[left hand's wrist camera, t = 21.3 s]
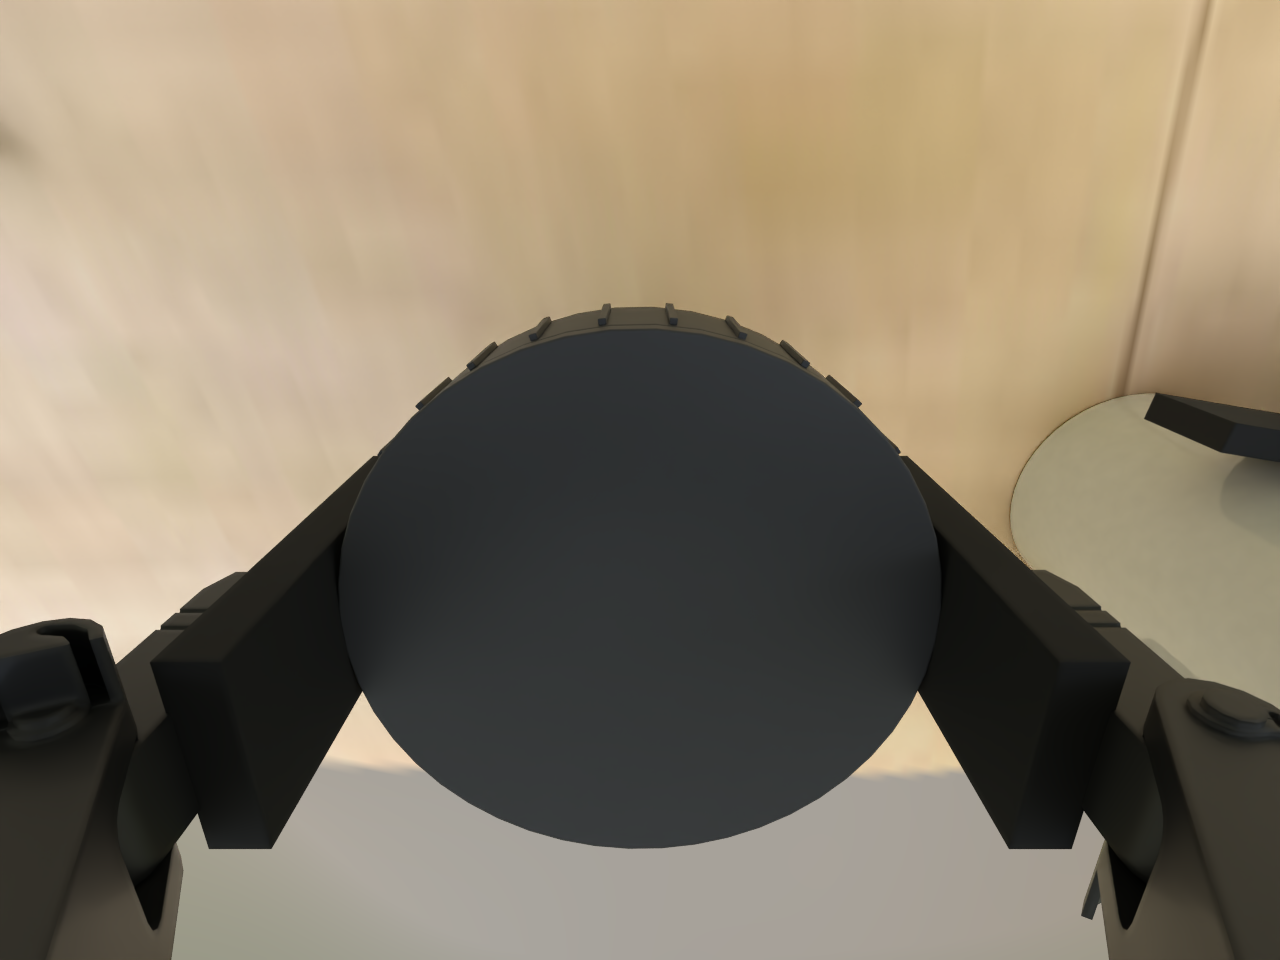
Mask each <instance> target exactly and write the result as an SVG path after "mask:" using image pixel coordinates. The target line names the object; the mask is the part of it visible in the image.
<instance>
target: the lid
mask: <svg viewBox="0 0 1280 960" xmlns="http://www.w3.org/2000/svg"><path fill="white" fill-rule="evenodd" d="M809 364H810V363H809V362H808V361H807V360H806V359H805V358H804V357H803V356H802V355H801V354H799V353H798V352H797V351H796V350H795V349H794V348H793V347H792V346H791V345H789V344H788V343H787V342H785V341H784V340H782V341H781V343H780V345H779V344H778V343H776V342H774V341H772V340H771V339H769V338H767V337H766V336H764V335H762V334H760V333H757V332H755V331H752V330H750V329H747V328H745V327H742V326H740V325H739V324H738V323H737V321H736V320H735V319H734V318H733V317H730V316H727V317H726V319H725V320H723V319H720V318H716V317H712V316H708V315H704V314H700V313H696V312H692V311H684V310H676V309H674V306H673V304H669V303H666V307H665V308H658V307H626V308H611V304H604V305H603V307H602V310H597V311H591V312H584V313H578V314H575V315H571V316H568V317H564V318H561V319H558V320H554V321H551V319H550V317H546V318H544V319H543V320H542V321H541V322H540V323H539V324H538V325H537V326H536V327H535V328H532V329H530V330H528V331H526V332H524V333H521V334H519V335H517V336H515V337H513V338H510V339H508V340H507V341H505V342H503V343H502V344H500V345H499V346H497V344H496V343H495V342H493V343H491V344H490V345H489V346H487V347H486V348H485V349H484V350H483V351H482V352H481V353H480V354H478V355H477V356H476V357H475V358H474V359H473V360H472V361H471V362H469V363H468V364H467V367H468V368H466V369H465V370H464V371H463V372H462V373H461V374H459V375H458V376H457V377H456V378H455V379H454V380H451V379H450V378H449V377H448V378H447V379H445V380H444V381H443V382H442V383H441V384H440V385H438V386H437V387H436V388H435V389H434V390H433V391H432V392H430V393H429V394H428V395H427V396H426V397H425V398H423V399H422V400H421V401H420V402H419V403H418V404H417V405H416V406H415V407H416V408H417V409H418V410H419V411H418V412H417V413H416V414H415V415H414V416H413V417H412V418H411V419H410V420H409V421H408V422H407V423H406V424H405V426H404V427H403V428H402V429H401V430H400V431H399V433H398V434H397V435H396V436H395V437H394V438H393V439H392V440H391V441H390V442H389V443H388V444H387V445H386V446H384V447H383V448H382V449H381V450H380V452H379V453H378V456H379V459H378V460H377V462H376V463H375V465H374V466H373V468H372V470H371V471H370V473H369V474H368V476H367V478H366V479H365V481H364V483H363V486H362V488H361V490H360V493H359V495H358V497H357V499H356V502H355V504H354V506H353V509H352V511H351V513H350V517H349V521H348V524H347V528H346V532H345V536H344V540H343V544H342V548H341V556H340V566H339V577H338V596H339V610H340V617H341V622H342V627H343V633H344V638H345V643H346V648H347V653H348V656H349V659H350V662H351V665H352V667H353V670H354V673H355V675H356V678H357V681H358V683H359V685H360V687H361V689H362V691H363V693H364V695H365V696H366V698H367V700H368V702H369V704H370V706H371V708H372V709H373V711H374V713H375V714H376V716H377V717H378V718H379V720H380V721H381V723H382V724H383V725H384V727H385V728H386V730H387V731H388V732H389V734H390V735H391V736H392V738H393V739H394V740H395V741H396V742H397V743H398V745H399V746H400V747H401V748H402V749H403V750H404V751H405V752H406V753H407V754H408V755H409V756H410V757H411V759H412V760H413V761H414V762H415V763H416V764H417V765H419V766H420V767H421V768H422V769H423V770H424V771H426V772H427V773H428V774H429V775H430V776H432V777H433V778H434V779H435V780H436V781H437V782H439V783H440V784H441V785H443V786H444V787H446V788H447V789H449V790H450V791H451V792H453V793H455V794H456V795H457V796H459V797H461V798H462V799H464V800H465V801H466V802H468V803H470V804H472V805H474V806H475V807H477V808H479V809H481V810H483V811H485V812H487V813H489V814H491V815H493V816H495V817H497V818H499V819H501V820H504V821H506V822H509V823H511V824H514V825H516V826H519V827H521V828H524V829H526V830H529V831H532V832H536V833H539V834H543V835H546V836H550V837H553V838H557V839H560V840H565V841H570V842H576V843H582V844H587V845H593V846H602V847H615V848H627V849H636V848H668V847H676V846H686V845H695V844H699V843H704V842H709V841H714V840H719V839H724V838H728V837H731V836H735V835H738V834H741V833H744V832H747V831H750V830H754V829H757V828H760V827H762V826H765V825H767V824H769V823H771V822H774V821H776V820H778V819H781V818H783V817H785V816H788V815H790V814H792V813H794V812H795V811H797V810H799V809H801V808H803V807H804V806H806V805H808V804H810V803H812V802H813V801H815V800H817V799H819V798H820V797H822V796H823V795H824V794H826V793H827V792H829V791H830V790H831V789H833V788H834V787H836V786H837V785H838V784H840V783H841V782H843V781H844V780H845V779H847V778H848V777H849V776H850V775H851V774H852V773H853V772H854V771H856V770H857V769H858V768H859V767H860V766H861V765H862V764H863V763H864V762H866V761H867V760H868V759H869V758H870V757H871V756H872V755H873V754H874V753H875V751H876V750H877V749H878V748H879V747H880V746H881V744H882V743H883V742H884V741H885V740H886V739H887V738H888V736H889V735H890V734H891V733H892V732H893V730H894V729H895V727H896V726H897V724H898V723H899V721H900V720H901V718H902V717H903V715H904V714H905V712H906V711H907V709H908V708H909V706H910V705H911V703H912V701H913V699H914V697H915V695H916V693H917V691H918V689H919V687H920V684H921V682H922V680H923V678H924V676H925V674H926V671H927V668H928V665H929V662H930V659H931V656H932V652H933V649H934V646H935V641H936V635H937V630H938V624H939V619H940V614H941V592H942V572H941V565H940V558H939V551H938V544H937V538H936V535H935V531H934V528H933V525H932V522H931V518H930V515H929V512H928V509H927V505H926V503H925V501H924V499H923V497H922V495H921V493H920V491H919V489H918V487H917V484H916V482H915V480H914V478H913V476H912V474H911V472H910V470H909V469H908V467H907V466H906V464H905V463H904V462H903V460H902V459H901V457H900V456H899V453H901V452H900V450H899V449H898V447H897V446H896V445H895V444H894V443H893V442H891V441H890V440H889V439H888V438H887V437H886V436H885V435H884V434H883V433H882V432H881V431H880V430H879V429H878V428H877V427H876V426H875V425H874V424H873V423H872V422H871V421H870V420H869V419H868V418H867V416H866V415H865V414H864V413H863V412H862V411H861V410H860V409H859V408H858V407H859V406H860V405H861V404H862V403H861V402H860V401H859V400H858V399H857V398H856V397H854V396H853V395H852V394H851V393H850V392H849V391H848V390H846V389H845V388H844V387H843V386H842V385H841V384H839V383H838V382H837V381H836V380H835V379H834V378H833V377H831V376H830V375H828V376H827V377H826V378H825V377H824V376H822V375H821V374H820V373H819V372H818V371H816V370H815V369H814V368H812V367H811V366H810V365H809Z"/></svg>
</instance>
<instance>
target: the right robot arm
mask: <svg viewBox="0 0 1280 960" xmlns="http://www.w3.org/2000/svg"><path fill="white" fill-rule="evenodd" d="M1144 419H1145V420H1147V421H1150V422H1152V423H1154V424H1156V425H1159V426H1161V427H1163V428H1166V429H1168V430H1170V431H1172V432H1175V433H1177V434H1179V435H1182V436H1184V437H1186V438H1188V439H1191V440H1193V441H1195V442H1197V443H1200V444H1202V445H1204V446H1207V447H1209V448H1211V449H1213V450H1216V451H1218V452H1220V453H1226V454H1232V455H1238V456H1244V457H1250V458H1256V459H1262V460H1268V461H1274V462H1280V414H1279V413H1273V412H1267V411H1261V410H1255V409H1249V408H1243V407H1237V406H1231V405H1225V404H1219V403H1213V402H1207V401H1201V400H1196V399H1190V398H1184V397H1178V396H1172V395H1166V394H1160V393H1156V394H1155V396H1154V398H1153V400H1152V402H1151V404H1150V406H1149V409H1148V411H1147V413H1146V415H1145V417H1144Z"/></svg>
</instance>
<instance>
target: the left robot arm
mask: <svg viewBox="0 0 1280 960" xmlns="http://www.w3.org/2000/svg"><path fill="white" fill-rule="evenodd" d="M900 457H901V459H902V460H903V462H904V463H905V464H906V466H907V467H908V469H909V470H910V472H911V474H912V476H913V478H914V480H915V482H916V484H917V487H918V489H919V491H920V493H921V495H922V497H923V499H924V501H925V503H926V505H927V509H928V512H929V515H930V518H931V522H932V525H933V528H934V531H935V535H936V538H937V544H938V551H939V558H940V565H941V572H942V592H941V614H940V619H939V624H938V630H937V635H936V641H935V646H934V649H933V652H932V656H931V659H930V662H929V665H928V668H927V671H926V674H925V676H924V678H923V680H922V682H921V684H920V687H919V689H918V692H919V694H920V695H921V697H922V699H923V701H924V702H925V704H926V706H927V708H928V709H929V711H930V713H931V714H932V716H933V718H934V720H935V721H936V723H937V725H938V727H939V728H940V730H941V732H942V734H943V735H944V737H945V739H946V740H947V742H948V744H949V746H950V747H951V749H952V751H953V753H954V754H955V756H956V758H957V760H958V761H959V763H960V765H961V766H962V768H963V770H964V772H965V773H966V775H967V777H968V779H969V780H970V782H971V784H972V786H973V787H974V789H975V791H976V792H977V794H978V796H979V798H980V799H981V801H982V803H983V805H984V806H985V808H986V810H987V812H988V813H989V815H990V817H991V818H992V820H993V822H994V824H995V825H996V827H997V829H998V831H999V832H1000V834H1001V836H1002V838H1003V839H1004V841H1005V843H1006V844H1007V846H1008V848H1009V849H1072V846H1073V843H1074V840H1075V837H1076V833H1077V830H1078V827H1079V824H1080V821H1081V818H1082V815H1083V811H1085V813H1086V814H1087V816H1088V817H1089V818H1090V820H1091V821H1092V822H1093V824H1094V825H1095V826H1096V828H1097V829H1098V830H1099V832H1100V833H1101V834H1102V836H1103V837H1104V839H1105V841H1104V844H1103V847H1102V849H1101V852H1100V855H1099V858H1098V861H1097V864H1096V867H1095V870H1094V873H1093V876H1092V879H1091V882H1090V885H1089V888H1088V890H1087V893H1086V896H1085V899H1084V903H1083V909H1082V914H1081V916H1083V917H1086V918H1088V919H1091V920H1092V919H1093V916H1094V913H1095V910H1096V907H1097V905H1098V904H1099V903H1102V911H1103V918H1104V925H1105V932H1106V940H1107V947H1108V954H1109V960H1280V709H1278V708H1277V707H1275V706H1274V705H1272V704H1270V703H1268V702H1266V701H1264V700H1262V699H1260V698H1258V697H1256V696H1253V695H1251V694H1249V693H1247V692H1245V691H1242V690H1239V689H1236V688H1233V687H1230V686H1226V685H1223V684H1220V683H1217V682H1212V681H1205V680H1198V679H1192V678H1184V677H1183V676H1181V675H1180V674H1179V673H1178V672H1177V671H1176V670H1174V669H1173V668H1172V667H1171V666H1170V665H1169V664H1167V663H1166V662H1165V661H1164V660H1163V659H1162V658H1160V657H1159V656H1158V655H1157V654H1156V653H1155V652H1153V651H1152V650H1151V649H1150V648H1149V647H1148V646H1146V645H1145V644H1144V643H1143V642H1142V641H1141V640H1140V639H1138V638H1137V637H1136V636H1135V635H1134V634H1133V633H1131V632H1130V631H1129V630H1128V629H1127V628H1121V625H1120V624H1121V623H1120V622H1119V621H1117V620H1116V619H1115V618H1114V617H1113V616H1112V615H1110V614H1109V613H1108V612H1107V611H1102V610H1101V606H1100V605H1099V604H1098V603H1097V602H1095V601H1094V600H1093V599H1092V598H1091V597H1090V596H1088V595H1087V594H1086V593H1085V592H1084V591H1083V590H1081V589H1080V588H1079V587H1078V586H1076V585H1074V584H1072V583H1070V582H1068V581H1066V580H1064V579H1062V578H1060V577H1058V576H1056V575H1054V574H1053V573H1051V572H1049V571H1047V570H1030V569H1029V568H1028V567H1027V566H1026V565H1025V564H1024V563H1023V562H1022V561H1021V560H1020V559H1018V558H1017V557H1016V556H1015V555H1014V554H1013V553H1012V552H1011V551H1010V550H1009V549H1008V548H1007V547H1005V546H1004V545H1003V544H1002V543H1001V542H1000V541H999V540H998V539H997V538H996V537H995V536H993V535H992V534H991V533H990V532H989V531H988V530H987V529H986V528H985V527H984V526H983V525H982V524H980V523H979V522H978V521H977V520H976V519H975V518H974V517H973V516H972V515H971V514H970V513H969V512H967V511H966V510H965V509H964V508H963V507H962V506H961V505H960V504H959V503H958V502H957V501H955V500H954V499H953V498H952V497H951V496H950V495H949V494H948V493H947V492H946V491H945V490H944V489H942V488H941V487H940V486H939V485H938V484H937V483H936V482H935V481H934V480H933V479H932V478H931V477H929V476H928V475H927V474H926V473H925V472H924V471H923V470H922V469H921V468H920V467H919V466H918V465H916V464H915V463H914V462H913V461H912V460H911V459H910V458H909V457H908V456H900ZM378 459H379V456H373V457H372V458H371V459H369V460H368V461H367V462H366V463H365V464H364V465H363V466H362V467H361V468H360V469H359V470H358V471H356V472H355V473H354V474H353V475H352V476H351V477H350V478H349V479H348V480H347V481H346V482H345V483H343V484H342V485H341V486H340V487H339V488H338V489H337V490H336V491H335V492H334V493H333V494H331V495H330V496H329V497H328V498H327V499H326V500H325V501H324V502H323V503H322V504H321V505H320V506H318V507H317V508H316V509H315V510H314V511H313V512H312V513H311V514H310V515H309V516H308V517H307V518H305V519H304V520H303V521H302V522H301V523H300V524H299V525H298V526H297V527H296V528H295V529H294V530H292V531H291V532H290V533H289V534H288V535H287V536H286V537H285V538H284V539H283V540H282V541H281V542H279V543H278V544H277V545H276V546H275V547H274V548H273V549H272V550H271V551H270V552H269V553H267V554H266V555H265V556H264V557H263V558H262V559H261V560H260V561H259V562H258V563H257V564H256V565H254V566H253V567H252V568H251V569H250V570H249V571H248V572H235V573H233V574H231V575H229V576H227V577H225V578H223V579H221V580H220V581H218V582H216V583H214V584H212V585H210V586H208V587H206V588H204V589H203V590H201V591H200V592H199V593H198V594H197V595H196V596H194V597H193V598H192V599H191V600H190V601H189V602H188V603H186V604H185V605H184V606H183V607H182V608H181V609H180V613H175V614H174V615H173V616H171V617H170V618H169V619H168V620H167V621H166V622H164V623H163V624H162V625H161V629H160V630H155V631H154V632H153V633H152V634H151V635H149V636H148V637H147V638H146V639H145V640H144V641H143V642H141V643H140V644H139V645H138V646H137V647H136V648H134V649H133V650H132V651H131V652H130V653H129V654H128V655H126V656H125V657H124V658H123V659H122V660H121V661H120V662H118V663H117V664H115V662H114V659H113V656H112V653H111V650H110V647H109V644H108V641H107V638H106V635H105V632H104V629H103V626H101V625H100V624H98V623H96V622H94V621H92V620H89V619H76V618H66V619H58V620H50V621H42V622H39V623H35V624H31V625H27V626H24V627H20V628H16V629H12V630H10V631H7V632H5V633H2V634H0V960H171V957H172V950H173V942H174V935H175V927H176V920H177V913H178V906H179V899H180V891H181V884H182V877H183V866H182V860H181V855H180V852H179V850H178V846H177V844H176V842H177V840H178V839H179V838H180V836H181V835H182V834H183V832H184V831H185V829H186V828H187V827H188V825H189V824H190V823H191V821H192V820H193V819H194V817H195V816H196V814H197V813H198V816H199V819H200V822H201V825H202V829H203V832H204V835H205V838H206V841H207V844H208V847H209V849H272V847H273V845H274V843H275V842H276V840H277V838H278V836H279V835H280V833H281V831H282V829H283V828H284V826H285V824H286V823H287V821H288V819H289V817H290V816H291V814H292V812H293V811H294V809H295V807H296V805H297V804H298V802H299V800H300V798H301V797H302V795H303V793H304V791H305V790H306V788H307V786H308V784H309V783H310V781H311V779H312V777H313V776H314V774H315V772H316V771H317V769H318V767H319V766H320V764H321V762H322V760H323V759H324V757H325V755H326V753H327V752H328V750H329V748H330V746H331V745H332V743H333V741H334V740H335V738H336V736H337V734H338V733H339V731H340V729H341V727H342V726H343V724H344V722H345V720H346V719H347V717H348V715H349V714H350V712H351V710H352V708H353V707H354V705H355V703H356V701H357V700H358V698H359V696H360V694H361V693H362V689H361V687H360V685H359V683H358V681H357V678H356V675H355V673H354V670H353V667H352V665H351V662H350V659H349V656H348V653H347V648H346V643H345V638H344V633H343V627H342V622H341V617H340V610H339V596H338V577H339V566H340V556H341V548H342V544H343V540H344V536H345V532H346V528H347V524H348V521H349V517H350V513H351V511H352V509H353V506H354V504H355V502H356V499H357V497H358V495H359V493H360V490H361V488H362V486H363V483H364V481H365V479H366V478H367V476H368V474H369V473H370V471H371V470H372V468H373V466H374V465H375V463H376V462H377V460H378Z"/></svg>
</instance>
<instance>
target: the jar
mask: <svg viewBox="0 0 1280 960" xmlns="http://www.w3.org/2000/svg"><path fill="white" fill-rule="evenodd" d="M1154 396H1155V394H1136V395H1128V396H1123V397H1119V398H1115V399H1111V400H1108V401H1106V402H1103V403H1100V404H1097V405H1095V406H1093V407H1091V408H1089V409H1087V410H1085V411H1083V412H1081V413H1079V414H1078V415H1076V416H1074V417H1073V418H1071V419H1070V420H1068V421H1067V422H1065V423H1064V424H1063V425H1062V426H1060V427H1059V428H1058V429H1056V430H1055V431H1054V432H1053V433H1052V434H1051V435H1050V436H1049V437H1048V438H1047V439H1046V440H1045V441H1044V442H1043V443H1042V444H1041V445H1040V446H1039V447H1038V449H1037V450H1036V451H1035V452H1034V454H1033V455H1032V456H1031V458H1030V459H1029V461H1028V462H1027V464H1026V465H1025V467H1024V469H1023V471H1022V473H1021V475H1020V477H1019V479H1018V482H1017V484H1016V487H1015V490H1014V493H1013V498H1012V502H1011V511H1010V522H1011V531H1012V535H1013V540H1014V542H1015V545H1016V547H1017V550H1018V551H1019V553H1020V555H1021V556H1022V558H1023V560H1024V561H1025V562H1026V563H1027V564H1028V565H1029V566H1030V568H1031V569H1032V570H1047V571H1049V572H1051V573H1053V574H1054V575H1056V576H1058V577H1060V578H1062V579H1064V580H1066V581H1068V582H1070V583H1072V584H1074V585H1076V586H1078V587H1079V588H1080V589H1081V590H1083V591H1084V592H1085V593H1086V594H1087V595H1088V596H1090V597H1091V598H1092V599H1093V600H1094V601H1095V602H1097V603H1098V604H1099V605H1100V606H1101V610H1102V611H1107V612H1108V613H1109V614H1110V615H1112V616H1113V617H1114V618H1115V619H1116V620H1117V621H1119V622H1120V623H1121V624H1120V625H1121V628H1127V629H1128V630H1129V631H1130V632H1131V633H1133V634H1134V635H1135V636H1136V637H1137V638H1138V639H1140V640H1141V641H1142V642H1143V643H1144V644H1145V645H1146V646H1148V647H1149V648H1150V649H1151V650H1152V651H1153V652H1155V653H1156V654H1157V655H1158V656H1159V657H1160V658H1162V659H1163V660H1164V661H1165V662H1166V663H1167V664H1169V665H1170V666H1171V667H1172V668H1173V669H1174V670H1176V671H1177V672H1178V673H1179V674H1180V675H1181V676H1183V677H1184V678H1192V679H1198V680H1205V681H1212V682H1217V683H1220V684H1223V685H1226V686H1230V687H1233V688H1236V689H1239V690H1242V691H1245V692H1247V693H1249V694H1251V695H1253V696H1256V697H1258V698H1260V699H1262V700H1264V701H1266V702H1268V703H1270V704H1272V705H1274V706H1275V707H1277V708H1278V709H1280V462H1274V461H1268V460H1262V459H1256V458H1250V457H1244V456H1238V455H1232V454H1226V453H1220V452H1218V451H1216V450H1213V449H1211V448H1209V447H1207V446H1204V445H1202V444H1200V443H1197V442H1195V441H1193V440H1191V439H1188V438H1186V437H1184V436H1182V435H1179V434H1177V433H1175V432H1172V431H1170V430H1168V429H1166V428H1163V427H1161V426H1159V425H1156V424H1154V423H1152V422H1150V421H1147V420H1145V419H1144V417H1145V415H1146V413H1147V411H1148V409H1149V406H1150V404H1151V402H1152V400H1153V398H1154Z"/></svg>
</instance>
